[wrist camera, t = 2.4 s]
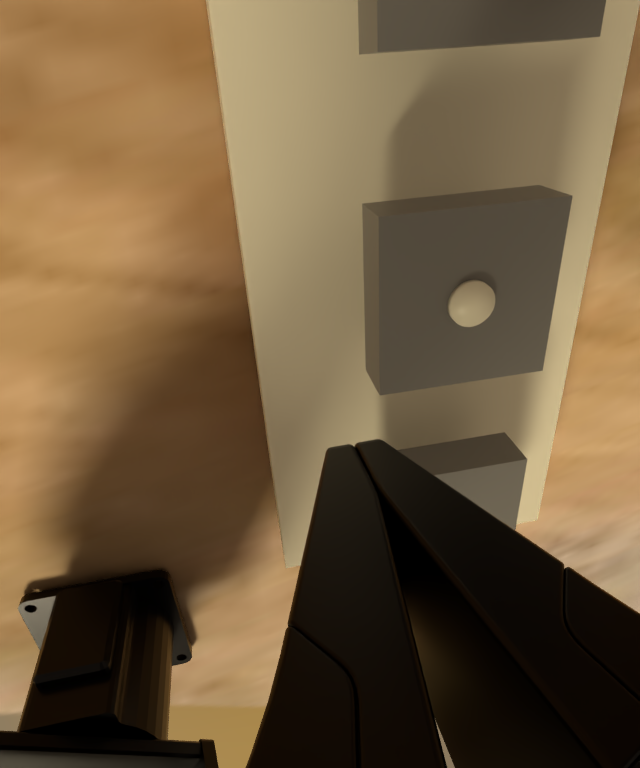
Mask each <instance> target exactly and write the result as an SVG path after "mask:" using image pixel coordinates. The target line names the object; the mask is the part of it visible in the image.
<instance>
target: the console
mask: <svg viewBox="0 0 640 768" xmlns="http://www.w3.org/2000/svg"><path fill="white" fill-rule="evenodd" d="M206 6H207V13H208V20H209V27H210V35H211V42H212V49H213V56H214V63H215V71H216V78H217V85H218V92H219V99H220V107H221V114H222V121H223V128H224V135H225V142H226V150H227V157H228V164H229V171H230V178H231V186H232V193H233V200H234V207H235V214H236V222H237V229H238V236H239V243H240V250H241V257H242V265H243V272H244V279H245V286H246V293H247V301H248V308H249V315H250V322H251V329H252V337H253V344H254V351H255V358H256V365H257V372H258V380H259V387H260V394H261V401H262V408H263V416H264V423H265V430H266V437H267V444H268V452H269V459H270V466H271V473H272V480H273V487H274V495H275V502H276V509H277V516H278V522H279V529H280V535H281V541H282V547H283V553H284V559H285V565H286V568H290V567H295V566H301V561H302V557H303V552H304V548H305V543H306V539H307V534H308V530H309V525H310V521H311V516H312V512H313V507H314V503H315V498H316V494H317V489H318V485H319V480H320V476H321V471H322V467H323V462H324V458H325V453H326V450H327V449H328V448H330V447H334V446H340V445H346V444H351V445H353V446H355V444H356V443H358V442H363V441H369V440H374V439H381V440H383V441H385V442H386V443H387V444H389V445H390V446H392V447H393V448H395V449H396V450H401V449H407V448H413V447H419V446H425V445H431V444H437V443H443V442H449V441H455V440H461V439H467V438H473V437H479V436H485V435H491V434H497V433H503V432H505V433H506V434H507V435H508V437H509V438H510V439H511V440H512V441H513V443H514V444H515V445H516V446H517V447H518V449H519V450H520V451H521V452H522V453H523V454H524V456H525V457H526V458H527V465H526V471H525V476H524V482H523V488H522V494H521V500H520V505H519V511H518V517H517V523H516V524H521V523H526V522H531V521H536V520H538V515H539V510H540V505H541V500H542V495H543V490H544V485H545V480H546V475H547V470H548V465H549V460H550V455H551V450H552V445H553V440H554V435H555V429H556V424H557V419H558V414H559V409H560V404H561V399H562V394H563V389H564V384H565V379H566V374H567V369H568V364H569V359H570V354H571V349H572V344H573V339H574V334H575V329H576V324H577V319H578V314H579V309H580V303H581V298H582V293H583V288H584V283H585V278H586V273H587V268H588V263H589V258H590V253H591V248H592V243H593V238H594V233H595V228H596V223H597V218H598V213H599V208H600V203H601V198H602V193H603V188H604V183H605V177H606V172H607V167H608V162H609V157H610V152H611V147H612V142H613V137H614V132H615V127H616V122H617V117H618V112H619V107H620V102H621V97H622V92H623V87H624V82H625V77H626V72H627V67H628V62H629V57H630V51H631V46H632V41H633V36H634V31H635V26H636V21H637V16H638V11H639V6H640V0H606V5H605V10H604V16H603V22H602V28H601V34H600V37H592V38H582V39H572V40H562V41H549V42H534V43H520V44H506V45H491V46H477V47H462V48H448V49H433V50H419V51H405V52H390V53H376V54H361V55H359V29H358V0H206ZM533 185H541V186H544V187H547V188H550V189H554V190H557V191H560V192H563V193H566V194H569V195H572V196H573V197H572V203H571V208H570V214H569V220H568V226H567V232H566V238H565V243H564V249H563V255H562V261H561V267H560V272H559V278H558V284H557V290H556V296H555V302H554V307H553V313H552V319H551V325H550V331H549V337H548V342H547V348H546V354H545V360H544V366H543V371H537V372H531V373H524V374H517V375H511V376H504V377H498V378H491V379H485V380H478V381H472V382H465V383H459V384H452V385H446V386H439V387H432V388H426V389H419V390H413V391H406V392H400V393H393V394H387V395H379V393H378V392H377V390H376V388H375V386H374V384H373V382H372V381H371V379H370V377H369V375H368V373H367V371H366V362H365V314H364V267H363V219H362V204H363V203H372V202H382V201H391V200H401V199H410V198H420V197H429V196H439V195H448V194H458V193H467V192H477V191H486V190H496V189H505V188H514V187H524V186H533Z"/></svg>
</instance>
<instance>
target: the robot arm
mask: <svg viewBox="0 0 640 768" xmlns="http://www.w3.org/2000/svg"><path fill="white" fill-rule="evenodd" d="M18 610H19V612H20V614H21V616H22V618H23V620H24V622H25V624H26V625H27V627H28V629H29V631H30V633H31V635H32V636H33V638H34V640H35V642H36V644H37V646H38V648H39V649H40V653H39V656H38V660H37V663H36V667H35V670H34V674H33V677H32V681H31V684H30V688H29V691H28V695H27V698H26V702H25V705H24V708H23V712H22V715H21V719H20V723H19V726H18V729H17V732H13V731H0V768H218V762H217V756H216V750H215V745H214V741H213V740H206V739H200V740H199V742H196V741H178V740H168V721H169V706H170V688H171V671H172V666H173V665H178V664H183V663H186V662H188V661H190V660H191V658H192V647H191V644H190V640H189V637H188V634H187V630H186V627H185V624H184V620H183V617H182V614H181V611H180V607H179V604H178V601H177V597H176V594H175V591H174V587H173V584H172V581H171V577H170V575H169V573H168V572H166V571H163V570H155V571H149V572H144V573H139V574H133V575H128V576H123V577H117V578H112V579H106V580H101V581H96V582H90V583H85V584H79V585H74V586H69V587H63V588H58V589H52V590H47V591H42V592H36V593H31V594H27V595H25V596H23V597H22V599H21V601H20V604H19V607H18ZM434 717H435V718H434ZM435 720H436V722H437V725H438V727H439V729H440V732H441V734H442V737H443V739H444V742H445V744H446V747H447V749H448V752H449V754H450V757H451V759H452V762H453V764H454V766H455V768H640V613H638V612H637V611H635V610H633V609H632V608H630V607H629V606H627V605H626V604H624V603H623V602H621V601H620V600H618V599H616V598H615V597H613V596H612V595H610V594H609V593H607V592H606V591H604V590H603V589H601V588H600V587H598V586H596V585H595V584H594V583H592V582H591V581H589V580H588V579H586V578H585V577H583V576H582V575H580V574H579V573H577V572H576V571H574V570H573V569H571V568H570V567H566V568H565V569H564V564H563V563H562V562H561V561H559V560H558V559H556V558H555V557H553V556H552V555H551V554H549V553H548V552H546V551H545V550H543V549H542V548H540V547H539V546H537V545H536V544H534V543H533V542H531V541H530V540H528V539H527V538H526V537H524V536H523V535H521V534H520V533H518V532H517V531H515V530H514V529H512V528H511V527H509V526H508V525H506V524H505V523H504V522H502V521H501V520H499V519H498V518H496V517H495V516H493V515H492V514H490V513H489V512H487V511H486V510H484V509H483V508H481V507H480V506H479V505H477V504H476V503H474V502H473V501H471V500H470V499H468V498H467V497H465V496H464V495H462V494H461V493H459V492H458V491H457V490H455V489H454V488H452V487H451V486H449V485H448V484H446V483H445V482H443V481H442V480H440V479H439V478H437V477H436V476H434V475H433V474H432V473H430V472H429V471H427V470H426V469H424V468H423V467H421V466H420V465H418V464H417V463H415V462H414V461H412V460H411V459H410V458H408V457H407V456H405V455H404V454H402V453H401V452H399V451H398V450H396V449H395V448H393V447H392V446H390V445H389V444H387V443H386V442H385V441H383V440H381V439H374V440H369V441H363V442H358V443H356V444H355V446H353V445H351V444H346V445H340V446H334V447H330V448H328V449H327V450H326V453H325V458H324V462H323V467H322V471H321V476H320V480H319V485H318V489H317V494H316V498H315V503H314V507H313V512H312V516H311V521H310V525H309V530H308V534H307V539H306V543H305V548H304V552H303V557H302V561H301V566H300V570H299V575H298V579H297V584H296V588H295V593H294V597H293V602H292V606H291V611H290V615H289V620H288V628H287V629H286V632H285V636H284V641H283V645H282V649H281V654H280V658H279V662H278V666H277V670H276V673H275V677H274V681H273V685H272V689H271V693H270V696H269V700H268V703H267V706H266V709H265V712H264V715H263V719H262V722H261V725H260V728H259V731H258V734H257V737H256V740H255V743H254V746H253V749H252V752H251V755H250V758H249V760H248V763H247V766H246V768H447V766H446V762H445V758H444V754H443V750H442V746H441V742H440V738H439V734H438V730H437V726H436V722H435Z"/></svg>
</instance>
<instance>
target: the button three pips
mask: <svg viewBox="0 0 640 768" xmlns="http://www.w3.org/2000/svg"><path fill="white" fill-rule="evenodd" d="M398 451H399V452H401V453H402V454H404V455H405V456H407V457H408V458H410V459H411V460H412V461H414V462H415V463H417V464H418V465H420V466H421V467H423V468H424V469H426V470H427V471H429V472H430V473H432V474H433V475H434V476H436V477H437V478H439V479H440V480H442V481H443V482H445V483H446V484H448V485H449V486H451V487H452V488H454V489H455V490H457V491H458V492H459V493H461V494H462V495H464V496H465V497H467V498H468V499H470V500H471V501H473V502H474V503H476V504H477V505H479V506H480V507H481V508H483V509H484V510H486V511H487V512H489V513H490V514H492V515H493V516H495V517H496V518H498V519H499V520H501V521H502V522H504V523H505V524H506V525H508V526H509V527H511V528H512V529H514V530H515V529H516V523H517V517H518V511H519V505H520V500H521V494H522V488H523V482H524V476H525V471H526V465H527V458H526V457H525V456H524V454H523V453H522V452H521V451H520V450H519V449H518V447H517V446H516V445H515V444H514V443H513V441H512V440H511V439H510V438H509V437H508V435H507V434H506V433H505V432H503V433H497V434H491V435H485V436H479V437H473V438H467V439H461V440H455V441H449V442H443V443H437V444H431V445H425V446H419V447H413V448H407V449H401V450H398Z"/></svg>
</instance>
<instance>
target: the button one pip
mask: <svg viewBox="0 0 640 768" xmlns="http://www.w3.org/2000/svg"><path fill="white" fill-rule="evenodd" d="M572 197H573V196H572V195H569V194H566V193H563V192H560V191H557V190H554V189H550V188H547V187H544V186H541V185H533V186H524V187H514V188H505V189H496V190H486V191H477V192H467V193H458V194H448V195H439V196H429V197H420V198H410V199H401V200H391V201H382V202H372V203H363V204H362V219H363V267H364V314H365V362H366V371H367V373H368V375H369V377H370V379H371V381H372V382H373V384H374V386H375V388H376V390H377V392H378V393H379V395H387V394H393V393H400V392H406V391H413V390H419V389H426V388H432V387H439V386H446V385H452V384H459V383H465V382H472V381H478V380H485V379H491V378H498V377H504V376H511V375H517V374H524V373H531V372H537V371H543V366H544V360H545V354H546V348H547V342H548V337H549V331H550V325H551V319H552V313H553V307H554V302H555V296H556V290H557V284H558V278H559V272H560V267H561V261H562V255H563V249H564V243H565V238H566V232H567V226H568V220H569V214H570V208H571V203H572Z"/></svg>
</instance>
